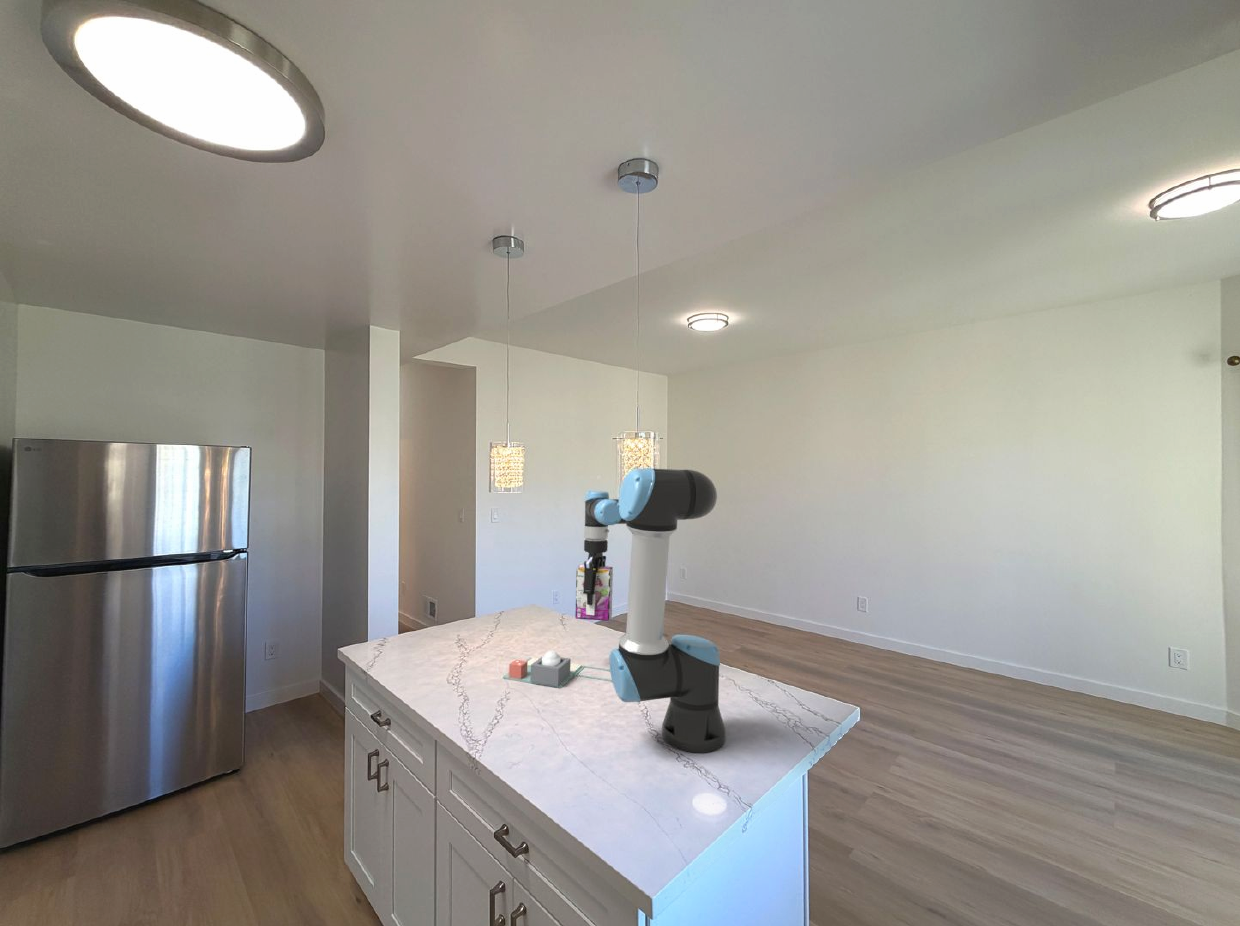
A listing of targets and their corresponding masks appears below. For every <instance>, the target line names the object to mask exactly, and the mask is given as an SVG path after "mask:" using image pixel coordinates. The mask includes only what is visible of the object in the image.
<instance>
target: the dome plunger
mask: <svg viewBox="0 0 1240 926" xmlns="http://www.w3.org/2000/svg"><path fill="white" fill-rule="evenodd" d="M541 657H542V665H547V666H553V667H557V666H558V665H559V664H560V657H561V655H560V654H558V652H556V651H555V650H548V651H546V652H545V653H544V654H543V655H542V656H541Z"/></svg>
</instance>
